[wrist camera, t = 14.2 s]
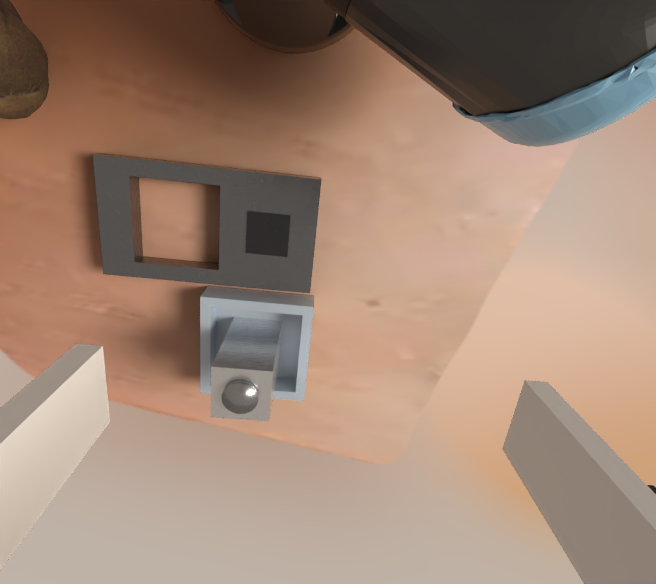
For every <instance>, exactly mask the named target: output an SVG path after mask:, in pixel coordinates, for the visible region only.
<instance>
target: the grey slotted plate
mask: <svg viewBox="0 0 656 584" xmlns="http://www.w3.org/2000/svg"><path fill="white" fill-rule="evenodd" d="M93 164H94V175H95V186H96V197H97V208H98V219H99V230H100V242H101V253H102V264H103V274H109V275H120V276H131V277H142V278H152V279H163V280H174V281H185V282H195V283H206V284H217V285H228V286H239V287H249V288H260V289H271V290H282V291H293V292H303V293H310V287H311V277H312V267H313V257H314V247H315V237H316V227H317V217H318V207H319V197H320V187H321V178H319V177H310V176H301V175H292V174H283V173H274V172H265V171H256V170H247V169H238V168H229V167H220V166H211V165H202V164H193V163H184V162H175V161H166V160H157V159H148V158H139V157H130V156H121V155H112V154H93ZM139 177H145V178H154V179H163V180H172V181H182V182H191V183H200V184H209V185H219V186H220V229H219V264H216V263H205V262H195V261H184V260H174V259H164V258H153V257H143V250H142V232H141V213H140V194H139Z"/></svg>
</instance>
